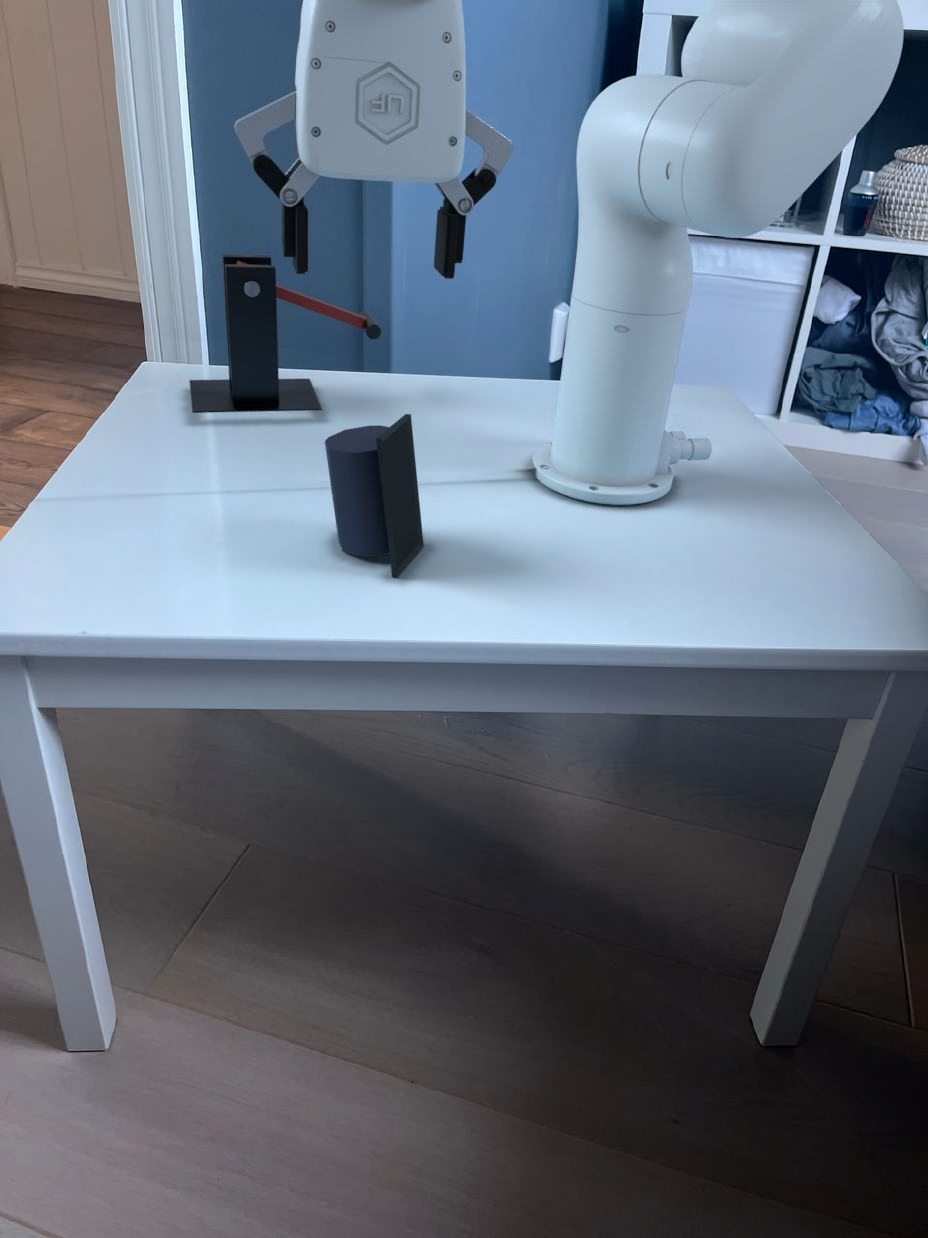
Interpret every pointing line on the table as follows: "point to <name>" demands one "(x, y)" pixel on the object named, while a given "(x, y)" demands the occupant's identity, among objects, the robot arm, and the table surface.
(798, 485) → the table surface
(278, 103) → the robot arm
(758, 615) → the table surface
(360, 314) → the lever
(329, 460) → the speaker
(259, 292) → the bracket
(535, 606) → the table surface
